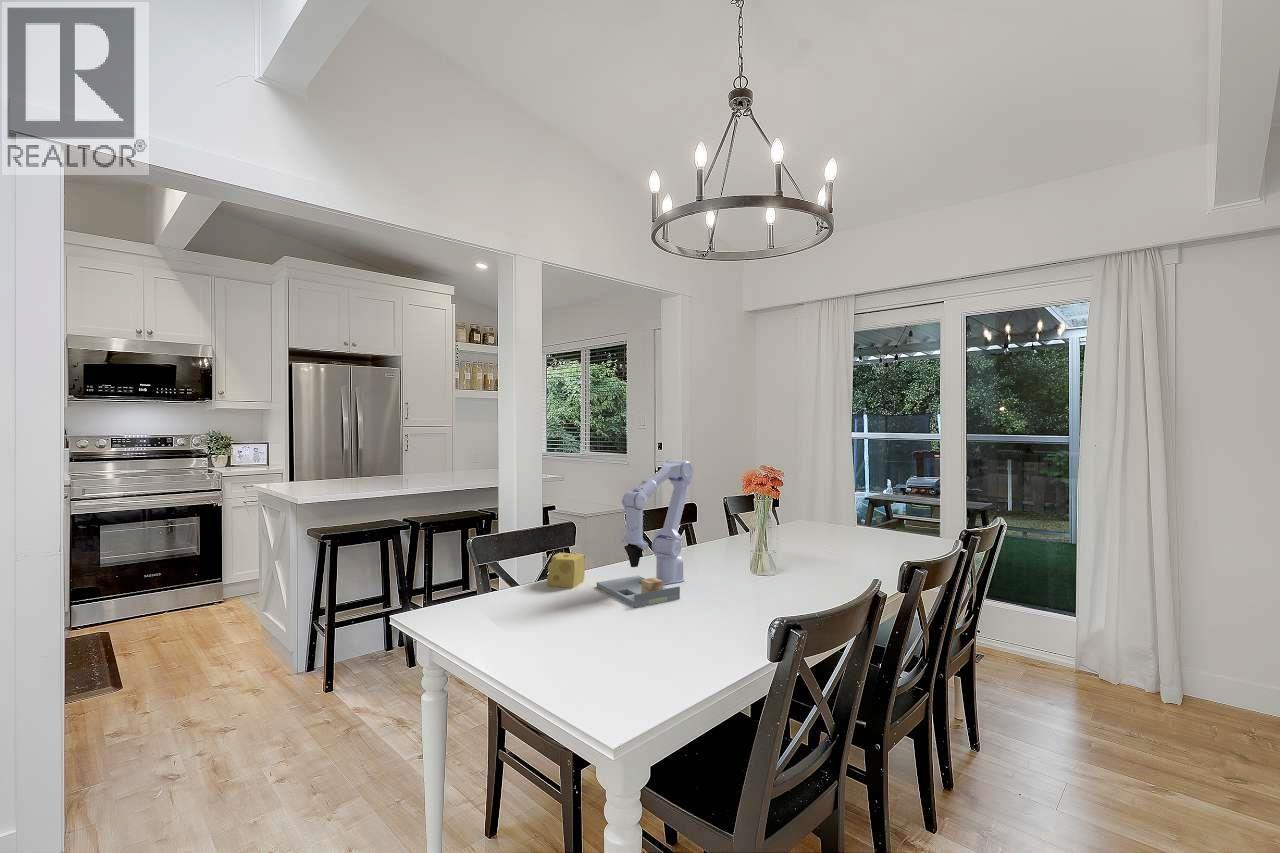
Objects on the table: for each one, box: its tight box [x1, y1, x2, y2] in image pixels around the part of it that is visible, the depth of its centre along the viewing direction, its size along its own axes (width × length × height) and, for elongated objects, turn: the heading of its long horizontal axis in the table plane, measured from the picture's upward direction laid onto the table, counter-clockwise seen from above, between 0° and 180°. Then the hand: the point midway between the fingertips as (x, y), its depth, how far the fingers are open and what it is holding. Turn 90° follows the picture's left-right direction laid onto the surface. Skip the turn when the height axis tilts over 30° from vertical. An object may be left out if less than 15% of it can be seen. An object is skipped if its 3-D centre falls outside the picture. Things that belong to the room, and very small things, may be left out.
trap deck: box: [596, 575, 681, 608], centre depth 199 cm, size 17×26×4 cm, turn 32°
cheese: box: [546, 552, 586, 589], centre depth 210 cm, size 10×11×10 cm
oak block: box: [641, 577, 664, 593], centre depth 190 cm, size 5×5×5 cm
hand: (634, 566), depth 200 cm, fingers closed
